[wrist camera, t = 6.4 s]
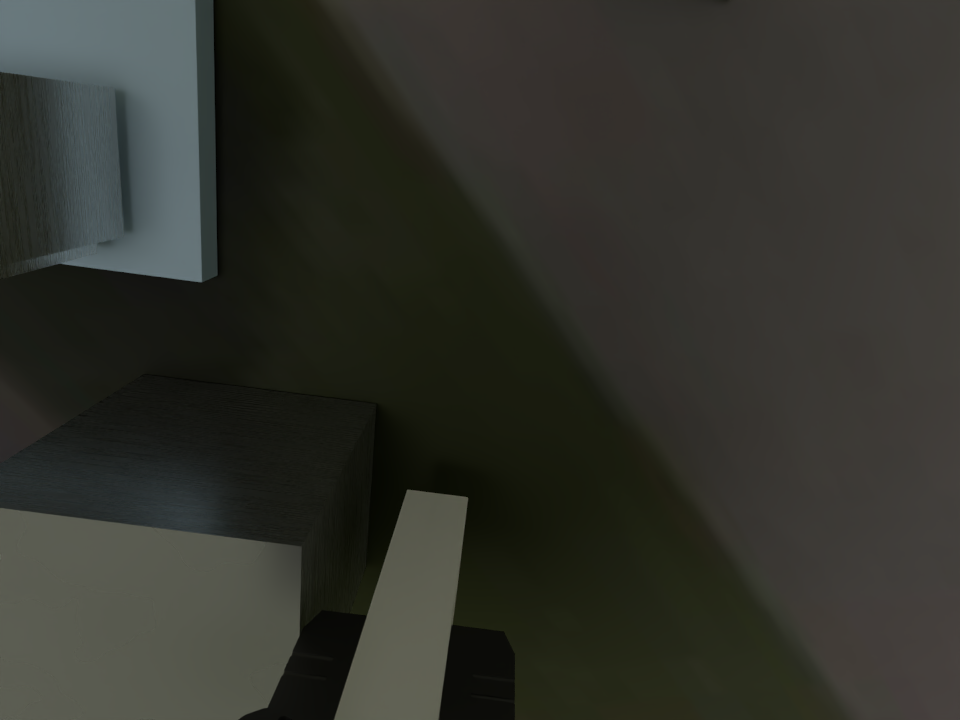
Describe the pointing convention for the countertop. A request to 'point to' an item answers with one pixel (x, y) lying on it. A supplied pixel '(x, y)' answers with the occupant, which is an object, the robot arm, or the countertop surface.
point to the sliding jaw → (56, 172)
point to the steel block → (177, 549)
